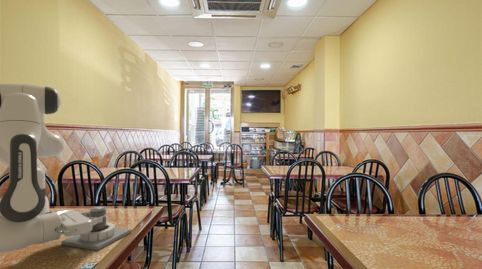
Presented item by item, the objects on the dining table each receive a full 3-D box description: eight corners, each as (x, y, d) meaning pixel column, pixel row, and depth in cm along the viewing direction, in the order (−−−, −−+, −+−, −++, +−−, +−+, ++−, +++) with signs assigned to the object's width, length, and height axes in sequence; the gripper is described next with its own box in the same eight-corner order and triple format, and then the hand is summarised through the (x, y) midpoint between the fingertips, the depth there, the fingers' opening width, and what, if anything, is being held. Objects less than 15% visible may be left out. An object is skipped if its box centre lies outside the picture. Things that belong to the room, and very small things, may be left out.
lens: (85, 237, 93) (85, 209, 93) (98, 231, 99) (98, 205, 98) (97, 238, 92) (97, 210, 92) (109, 232, 97) (109, 206, 97)
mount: (61, 244, 90) (61, 234, 90) (98, 228, 105) (98, 219, 105) (97, 250, 85) (97, 239, 85) (131, 232, 101) (131, 222, 100)
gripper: (60, 224, 78) (108, 213, 88) (44, 211, 91) (87, 203, 102) (60, 245, 78) (108, 231, 88) (44, 228, 91) (87, 218, 102)
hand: (97, 216), depth 95 cm, fingers open, 8 cm apart
